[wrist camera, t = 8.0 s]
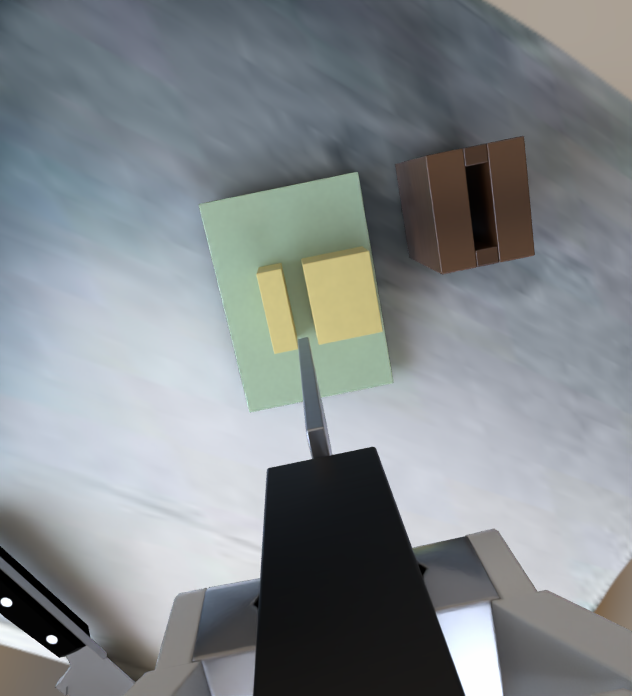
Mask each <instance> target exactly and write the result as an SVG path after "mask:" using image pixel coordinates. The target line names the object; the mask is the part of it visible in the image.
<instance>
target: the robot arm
mask: <svg viewBox="0 0 632 696" xmlns="http://www.w3.org/2000/svg"><path fill="white" fill-rule="evenodd" d="M412 549H413V552H414V554H415V557H416V560H417V563H418V566H419V568H420V571H421V574H422V577H423V579H424V582H425V585H426V588H427V590H428V593H429V596H430V599H431V601H432V604H433V607H434V610H435V612H436V615H437V618H438V621H439V623H440V626H441V629H442V632H443V634H444V637H445V640H446V643H447V645H448V648H449V651H450V654H451V656H452V659H453V662H454V665H455V667H456V670H457V673H458V676H459V678H460V681H461V684H462V687H463V689H464V692H465V695H466V696H632V631H631V630H628V629H627V628H625V627H622V626H620V625H618V624H616V623H614V622H612V621H610V620H608V619H606V618H604V617H602V616H600V615H597V614H595V613H593V612H591V611H589V610H587V609H585V608H583V607H581V606H579V605H577V604H575V603H573V602H571V601H568V600H566V599H564V598H562V597H560V596H558V595H556V594H554V593H552V592H550V591H548V590H544V591H539V592H537V590H536V589H535V587H534V585H533V584H532V582H531V581H530V579H529V578H528V576H527V575H526V573H525V572H524V570H523V568H522V567H521V565H520V564H519V562H518V561H517V559H516V558H515V556H514V555H513V553H512V551H511V550H510V548H509V547H508V545H507V544H506V542H505V541H504V539H503V538H502V536H501V534H500V533H499V531H497V530H495V529H490V530H486V531H481V532H477V533H473V534H469V535H465V536H464V537H460V538H455V539H451V540H446V541H441V542H437V543H432V544H427V545H423V546H418V547H413V548H412ZM259 590H260V578H258V579H253V580H247V581H241V582H236V583H230V584H225V585H219V586H214V587H209V588H208V589H207V588H204V589H199V590H194V591H189V592H184V593H179V594H178V595H177V596H176V598H175V599H174V602H173V606H172V609H171V613H170V616H169V620H168V624H167V627H166V631H165V635H164V638H163V642H162V645H161V649H160V653H159V656H158V660H157V664H156V667H155V670H153V671H149V672H145V673H144V674H143V675H142V676H141V678H140V679H139V680H138V681H137V682H136V683H135V684H134V685H133V686H132V687H131V688H130V689H129V690H128V691H127V692H126V693H125V694H124V695H123V696H253V687H254V671H255V655H256V639H257V622H258V606H259Z"/></svg>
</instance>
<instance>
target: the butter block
mask: <svg viewBox="0 0 632 696" xmlns="http://www.w3.org/2000/svg"><path fill="white" fill-rule="evenodd" d="M301 262H302V267H303V272H304V277H305V282H306V287H307V292H308V296H309V301H310V306H311V311H312V316H313V321H314V326H315V331H316V336H317V340H318V344H319V345H321V344H326V343H331V342H336V341H341V340H346V339H351V338H355V337H360V336H365V335H370V334H375V333H380V332H383V328H382V322H381V317H380V311H379V305H378V299H377V293H376V287H375V281H374V275H373V269H372V263H371V258H370V252H369V250H367V249H366V248H364V247H363V246H361V247H356V248H351V249H346V250H341V251H336V252H331V253H326V254H322V255H317V256H312V257H307V258H302V259H301Z"/></svg>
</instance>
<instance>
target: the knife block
mask: <svg viewBox="0 0 632 696" xmlns="http://www.w3.org/2000/svg"><path fill="white" fill-rule="evenodd" d="M395 166H396V173H397V180H398V186H399V193H400V199H401V206H402V213H403V219H404V226H405V233H406V239H407V246H408V252H409V258H411V259H413V260H415V261H417V262H419V263H421V264H423V265H424V266H426V267H428V268H430V269H432V270H434V271H436V272H438V273H440V274H447V273H452V272H456V271H461V270H466V269H471V268H476V267H480V266H485V265H490V264H495V263H498V262H505V261H510V260H515V259H520V258H525V257H529V256H534V255H535V252H534V241H533V230H532V219H531V208H530V197H529V186H528V175H527V164H526V153H525V143H524V136H520V137H515V138H510V139H505V140H501V141H496V142H491V143H486V144H481V145H476V146H471V147H466V148H461V149H456V150H452V151H447V152H442V153H437V154H432V155H427V156H423V157H420V158H416V159H412V160H409V161H405V162H401V163H398V164H395Z"/></svg>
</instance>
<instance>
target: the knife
mask: <svg viewBox="0 0 632 696" xmlns="http://www.w3.org/2000/svg"><path fill="white" fill-rule="evenodd" d="M298 351H299V362H300V372H301V383H302V394H303V404H304V415H305V426H306V434H307V438H308V443H309V448H310V452H311V457H312V459H311V460H306V461H301V462H296V463H291V464H286V465H281V466H276V467H272V468H268V469H267V477H266V493H265V509H264V525H263V542H262V558H261V574H260V590H259V606H258V622H257V639H256V655H255V671H254V687H253V696H466V695H465V692H464V689H463V687H462V684H461V681H460V678H459V676H458V673H457V670H456V667H455V665H454V662H453V659H452V656H451V654H450V651H449V648H448V645H447V643H446V640H445V637H444V634H443V632H442V629H441V626H440V623H439V621H438V618H437V615H436V612H435V610H434V607H433V604H432V601H431V599H430V596H429V593H428V590H427V588H426V585H425V582H424V579H423V577H422V574H421V571H420V568H419V566H418V563H417V560H416V557H415V554H414V552H413V549H412V546H411V543H410V541H409V538H408V535H407V532H406V530H405V527H404V524H403V521H402V519H401V516H400V513H399V510H398V508H397V505H396V502H395V499H394V497H393V494H392V491H391V488H390V486H389V483H388V480H387V477H386V475H385V472H384V469H383V466H382V464H381V461H380V458H379V455H378V453H377V450H376V448H375V447H369V448H364V449H360V450H355V451H350V452H345V453H340V454H335V455H332V450H331V445H330V440H329V434H328V429H327V424H326V419H325V414H324V409H323V405H322V400H321V395H320V390H319V385H318V380H317V376H316V371H315V366H314V361H313V356H312V351H311V346H310V342H309V338H308V337H305V338H300V339H298Z"/></svg>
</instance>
